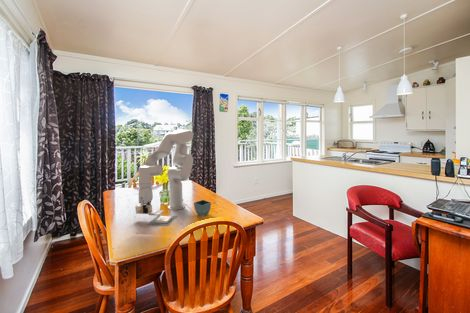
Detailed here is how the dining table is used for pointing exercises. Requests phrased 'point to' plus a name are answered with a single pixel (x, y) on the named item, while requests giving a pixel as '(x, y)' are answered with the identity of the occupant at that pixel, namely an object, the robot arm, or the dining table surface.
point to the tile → (163, 219)
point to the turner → (155, 212)
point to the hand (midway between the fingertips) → (147, 212)
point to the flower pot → (202, 207)
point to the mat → (161, 223)
